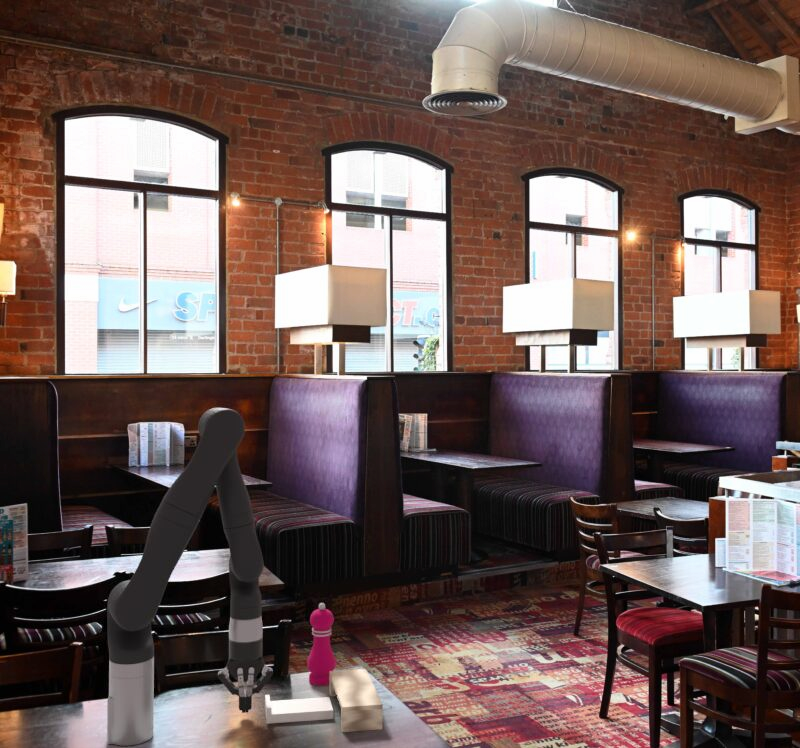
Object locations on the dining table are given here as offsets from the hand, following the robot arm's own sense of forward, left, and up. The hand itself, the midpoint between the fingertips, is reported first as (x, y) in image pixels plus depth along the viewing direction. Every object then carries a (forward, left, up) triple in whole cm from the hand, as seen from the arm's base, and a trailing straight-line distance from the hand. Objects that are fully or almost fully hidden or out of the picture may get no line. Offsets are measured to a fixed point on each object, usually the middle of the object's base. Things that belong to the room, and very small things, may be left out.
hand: (245, 711), depth 199 cm
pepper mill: (+20, +20, -2) cm, 28 cm away
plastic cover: (+13, 0, -2) cm, 13 cm away
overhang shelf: (+25, 0, -2) cm, 25 cm away
